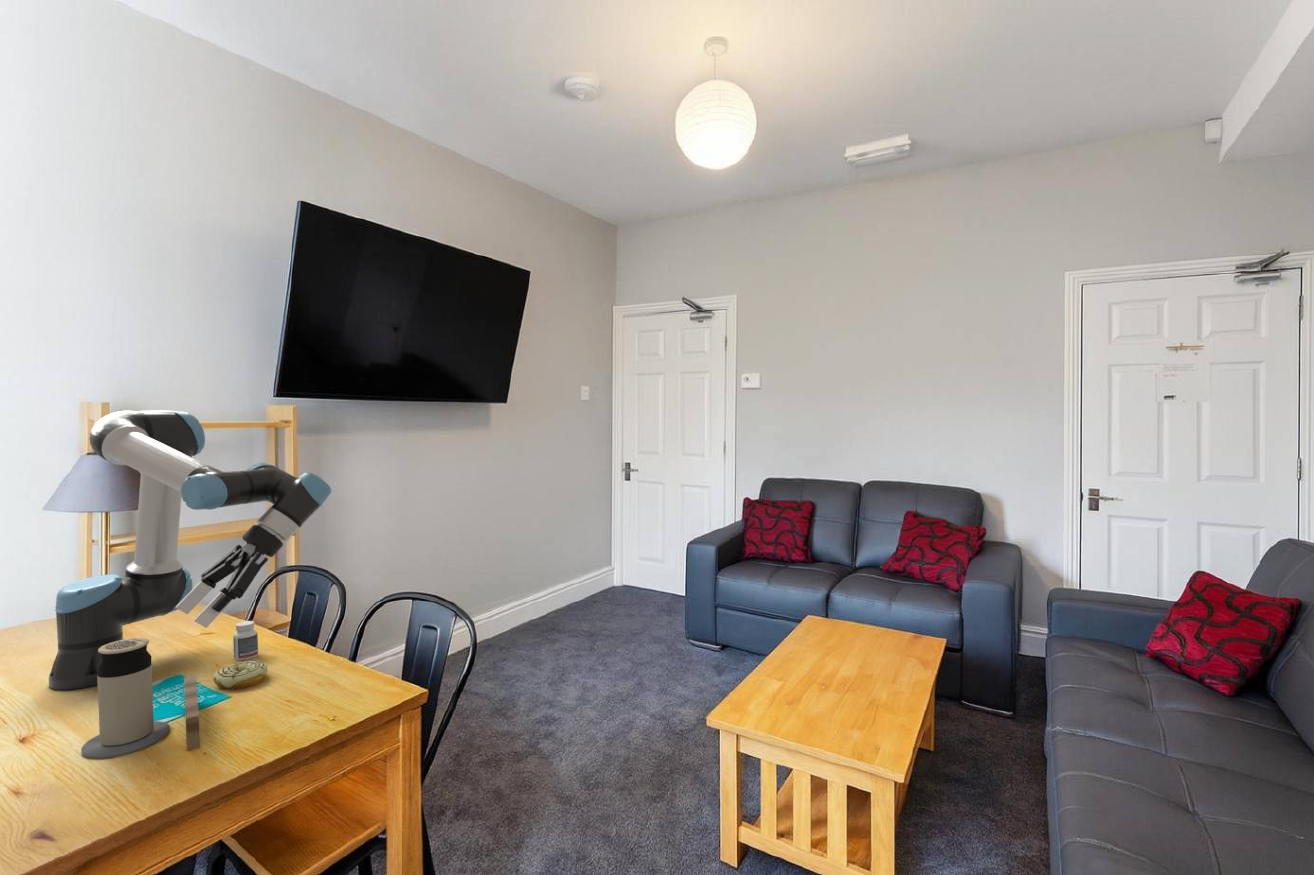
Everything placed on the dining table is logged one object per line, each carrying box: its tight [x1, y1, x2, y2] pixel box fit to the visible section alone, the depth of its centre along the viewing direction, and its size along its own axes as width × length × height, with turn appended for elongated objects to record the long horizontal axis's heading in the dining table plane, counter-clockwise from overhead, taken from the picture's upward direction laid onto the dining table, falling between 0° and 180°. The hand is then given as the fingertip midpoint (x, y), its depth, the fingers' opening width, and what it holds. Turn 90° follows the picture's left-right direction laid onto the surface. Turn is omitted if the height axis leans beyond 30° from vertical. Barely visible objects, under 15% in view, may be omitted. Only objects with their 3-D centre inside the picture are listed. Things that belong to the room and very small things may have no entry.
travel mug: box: [97, 637, 155, 746], centre depth 120 cm, size 8×8×18 cm
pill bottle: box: [232, 620, 259, 661], centre depth 163 cm, size 5×5×9 cm
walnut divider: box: [183, 674, 201, 751], centre depth 126 cm, size 24×2×6 cm, turn 38°
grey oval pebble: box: [80, 720, 171, 760], centre depth 120 cm, size 13×13×1 cm
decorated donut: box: [212, 660, 268, 690], centre depth 147 cm, size 10×11×4 cm
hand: (189, 617), depth 128 cm, fingers open, 13 cm apart
